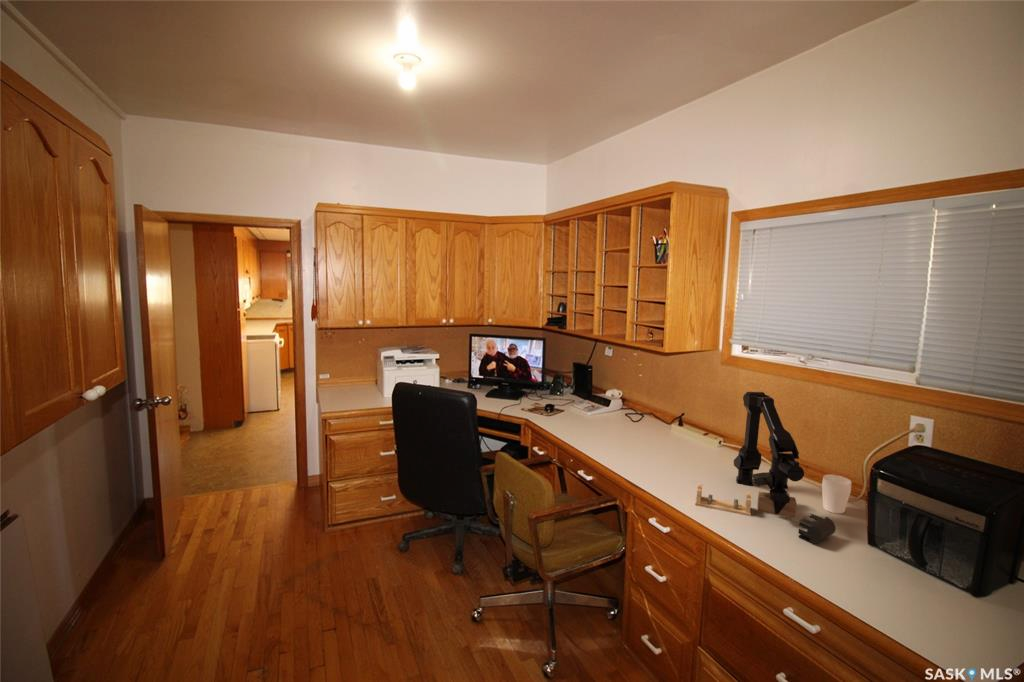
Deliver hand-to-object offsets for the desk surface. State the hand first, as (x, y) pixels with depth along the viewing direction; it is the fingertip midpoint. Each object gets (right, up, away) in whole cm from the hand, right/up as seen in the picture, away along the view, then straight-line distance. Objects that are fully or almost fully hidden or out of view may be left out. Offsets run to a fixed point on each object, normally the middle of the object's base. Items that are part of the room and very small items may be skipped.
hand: (775, 509), depth 180 cm
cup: (+23, -1, +2) cm, 23 cm away
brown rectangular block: (0, -1, 0) cm, 1 cm away
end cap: (+4, -4, -17) cm, 18 cm away
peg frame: (-18, 0, +4) cm, 18 cm away
